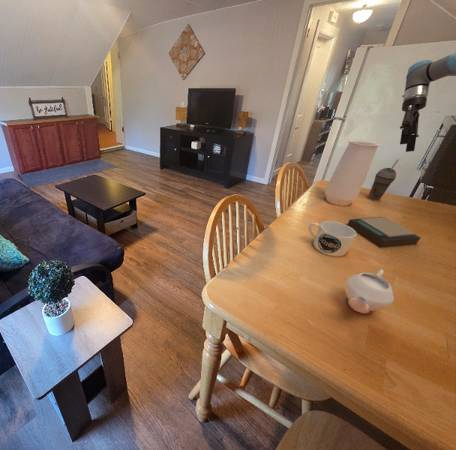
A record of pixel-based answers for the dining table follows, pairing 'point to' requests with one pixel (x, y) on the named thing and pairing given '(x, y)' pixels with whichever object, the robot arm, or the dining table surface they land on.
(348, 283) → the teapot
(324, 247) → the mug
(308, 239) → the dining table surface
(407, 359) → the dining table surface
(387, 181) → the beverage cup
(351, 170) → the vase
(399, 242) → the scale
